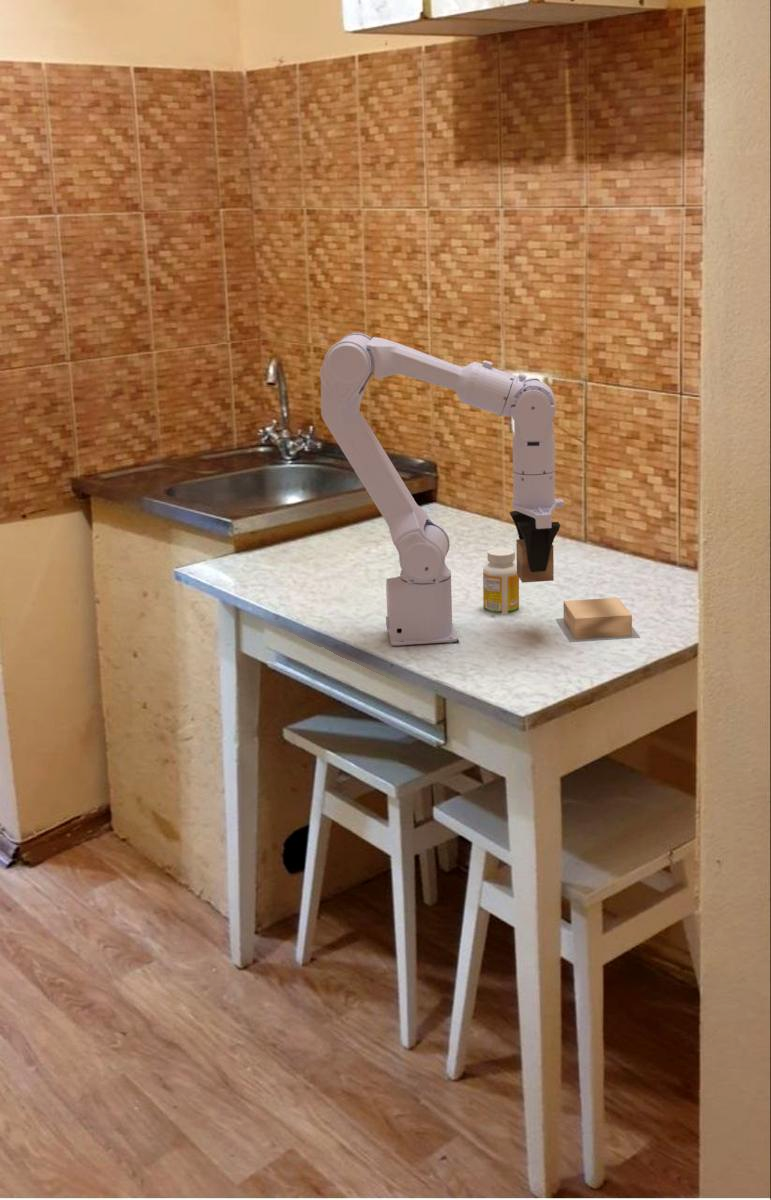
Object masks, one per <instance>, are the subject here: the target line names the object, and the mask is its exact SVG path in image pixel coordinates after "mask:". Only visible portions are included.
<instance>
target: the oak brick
mask: <svg viewBox="0 0 771 1200" xmlns="http://www.w3.org/2000/svg"><path fill="white" fill-rule="evenodd" d="M563 618H564V622H565V624H566V625H567V627H568V628H569V630H570V632H571V633H572V635H573V636H574V638H575V639H583V638H599V637H615V636H631V635H632V627H633V615H632V613H631V611H629V609H628V608H627V607H626V605H624V603H623V602H622V600H621V599H620V598H619V597H608V598H607V597H606V598H591V599H590V598H589V599H574V600H563Z"/></svg>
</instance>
